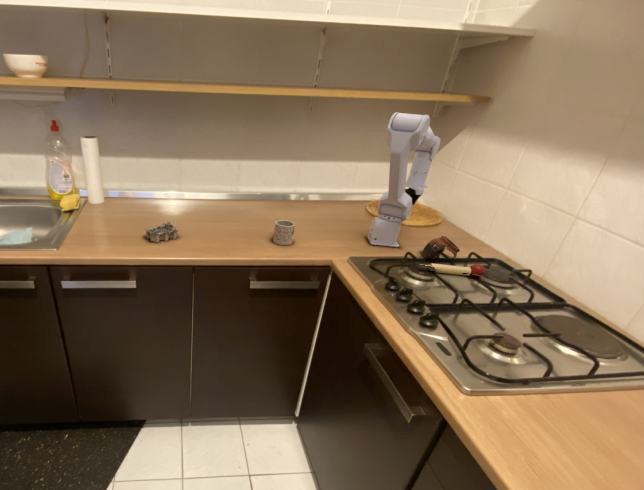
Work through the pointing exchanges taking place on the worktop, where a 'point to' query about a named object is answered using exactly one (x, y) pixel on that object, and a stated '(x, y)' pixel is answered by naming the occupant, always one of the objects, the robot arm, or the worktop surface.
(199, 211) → the worktop surface
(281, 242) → the mug
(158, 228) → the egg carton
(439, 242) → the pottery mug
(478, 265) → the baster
